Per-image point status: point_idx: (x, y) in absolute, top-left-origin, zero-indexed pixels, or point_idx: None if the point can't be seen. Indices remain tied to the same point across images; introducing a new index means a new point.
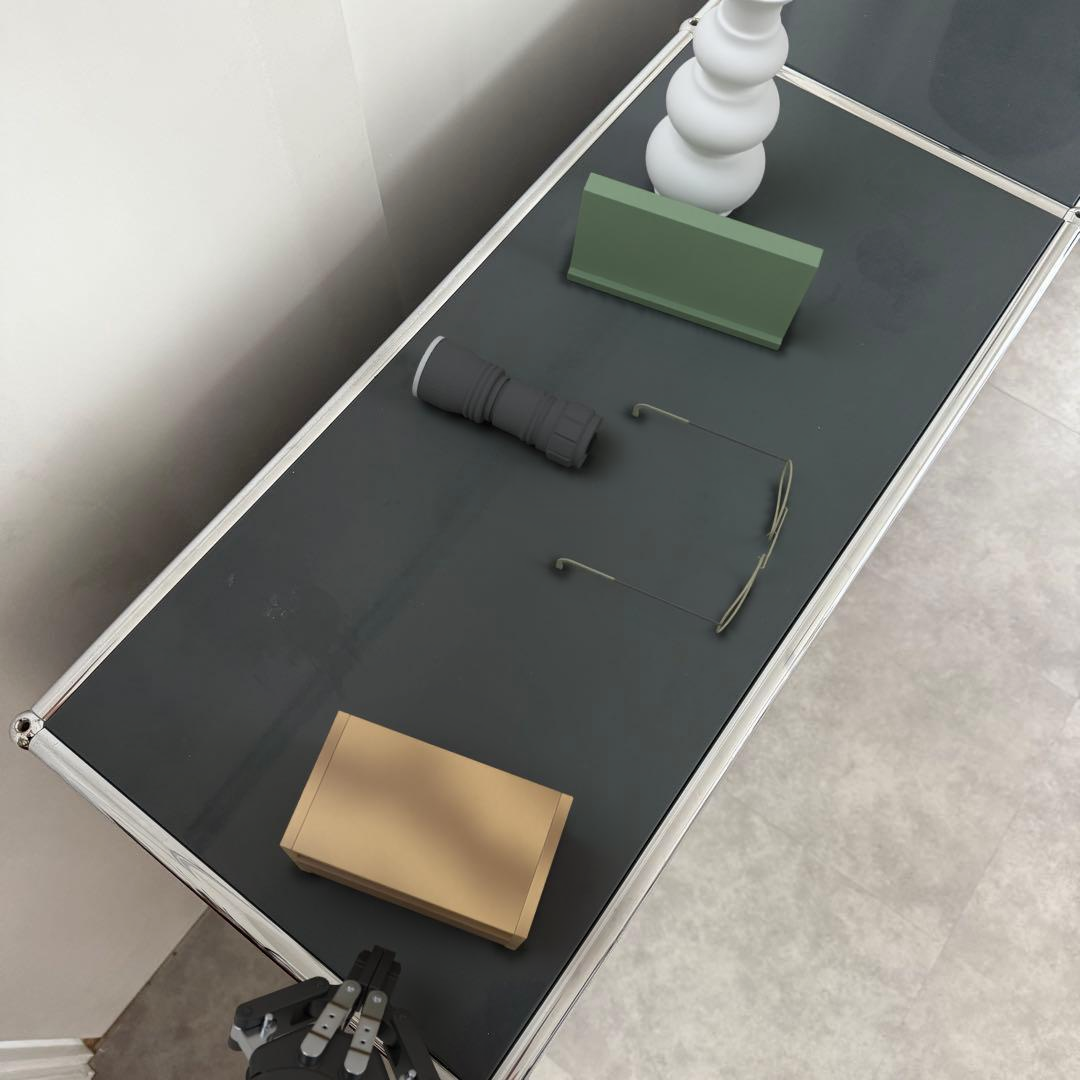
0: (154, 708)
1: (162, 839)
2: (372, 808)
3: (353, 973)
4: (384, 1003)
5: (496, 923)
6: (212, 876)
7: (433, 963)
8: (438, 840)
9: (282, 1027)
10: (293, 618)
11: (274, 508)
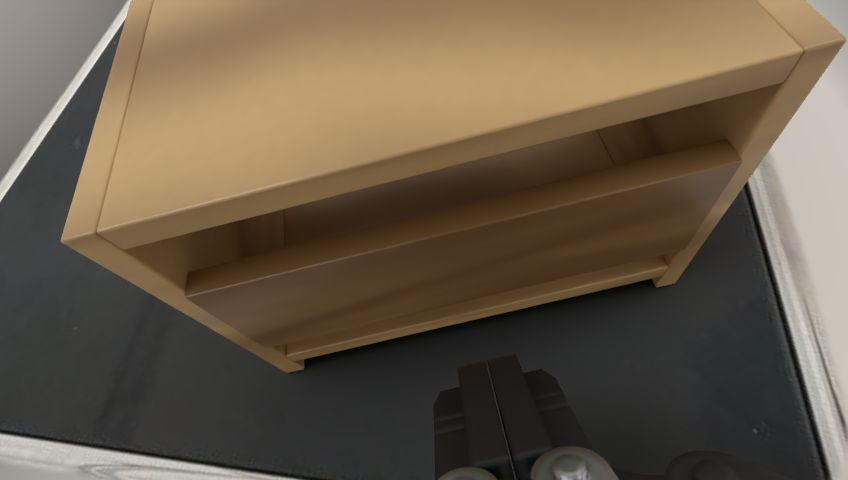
0: (14, 304)
1: (61, 459)
2: (262, 63)
3: (447, 455)
4: (609, 477)
5: (735, 58)
6: (156, 466)
7: (573, 378)
8: (445, 26)
9: None
10: None
11: (105, 73)
